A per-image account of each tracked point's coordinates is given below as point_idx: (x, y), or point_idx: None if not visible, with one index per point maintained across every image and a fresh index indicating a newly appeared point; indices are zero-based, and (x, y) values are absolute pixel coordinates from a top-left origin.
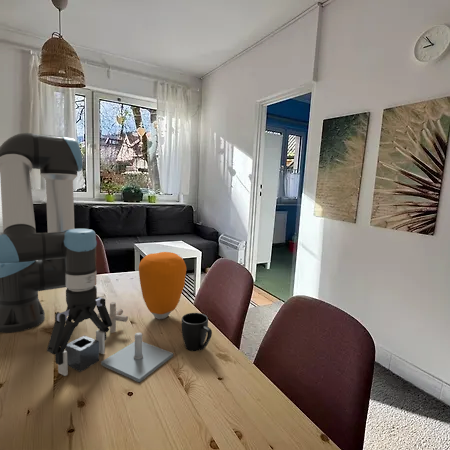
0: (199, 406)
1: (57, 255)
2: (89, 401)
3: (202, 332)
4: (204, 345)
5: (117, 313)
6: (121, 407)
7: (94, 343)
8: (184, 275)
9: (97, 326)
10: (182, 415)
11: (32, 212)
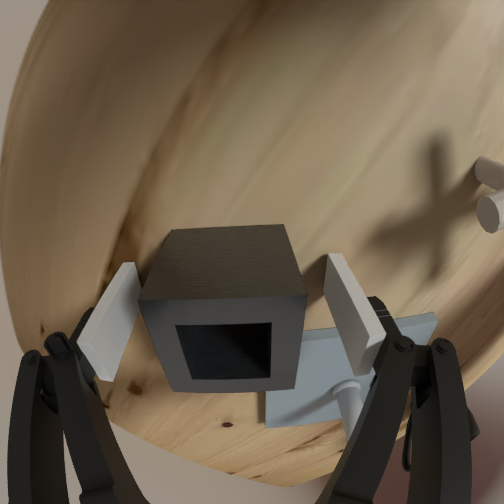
0: (270, 461)
1: None
2: (151, 396)
3: None
4: (405, 436)
5: None
6: (191, 429)
7: (265, 390)
8: None
9: (376, 379)
10: (242, 460)
11: None
